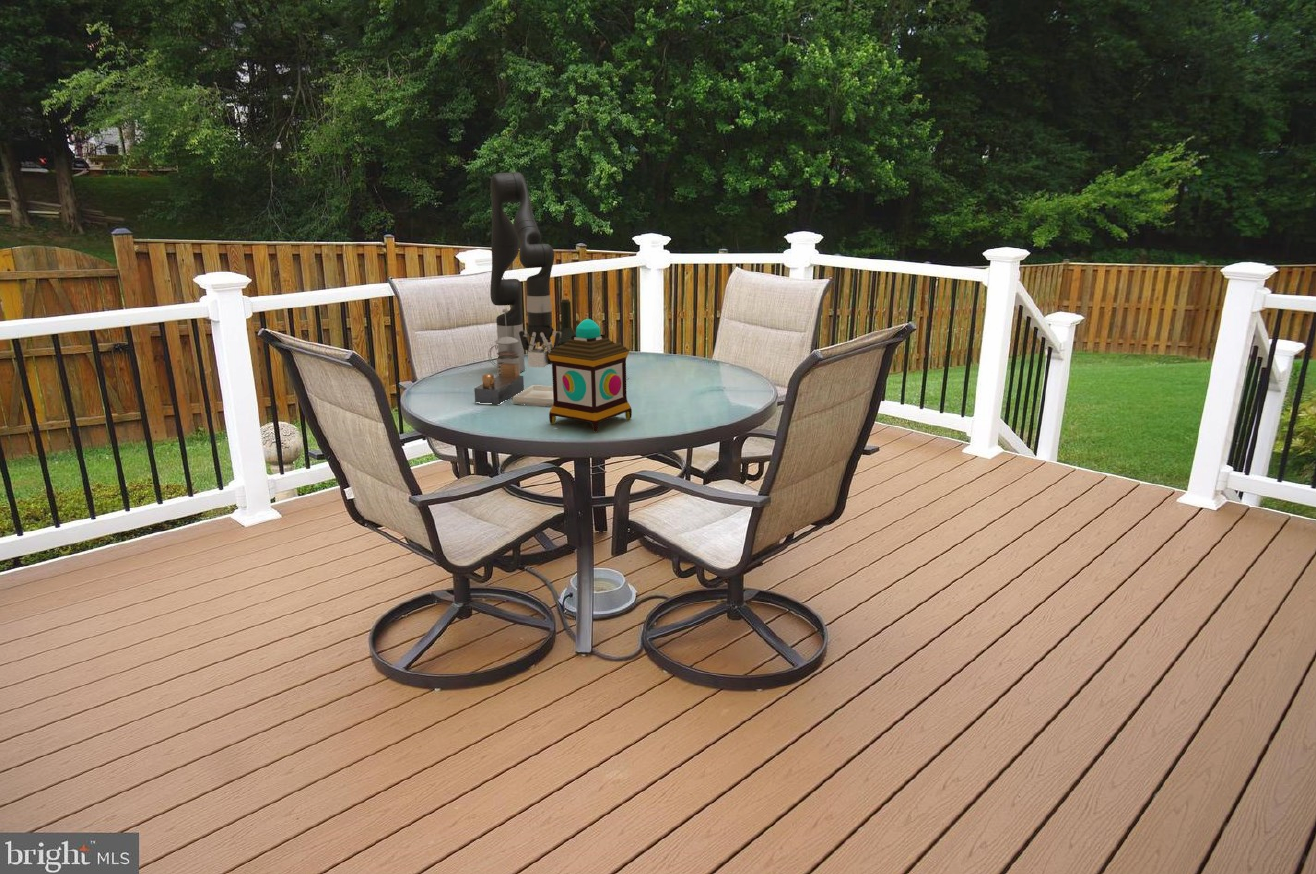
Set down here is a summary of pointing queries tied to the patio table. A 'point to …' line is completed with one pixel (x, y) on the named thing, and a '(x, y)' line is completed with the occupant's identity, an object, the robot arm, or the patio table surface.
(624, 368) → the decorative lantern
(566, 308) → the wine bottle
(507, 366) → the plane body
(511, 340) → the french press
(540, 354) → the lever cap
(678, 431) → the patio table surface
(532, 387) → the tray
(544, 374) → the patio table surface
